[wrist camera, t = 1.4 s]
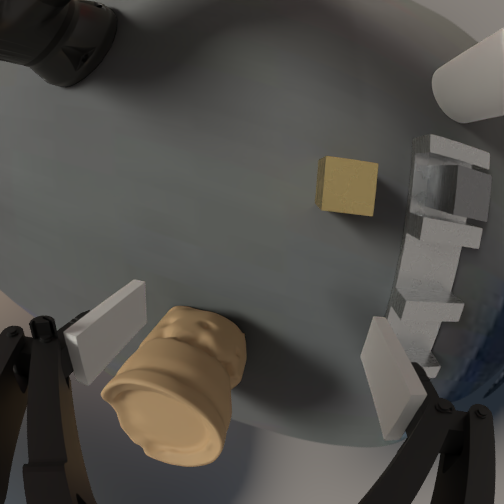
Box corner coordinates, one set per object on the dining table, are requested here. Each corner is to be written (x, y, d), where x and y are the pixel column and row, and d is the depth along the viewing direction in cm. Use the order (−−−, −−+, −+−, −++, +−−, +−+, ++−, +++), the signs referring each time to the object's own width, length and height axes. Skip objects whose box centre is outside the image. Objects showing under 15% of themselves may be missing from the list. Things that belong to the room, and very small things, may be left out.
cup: (436, 119, 27) (516, 95, 12) (426, 61, 25) (490, 13, 10) (482, 127, 26) (562, 116, 11) (472, 72, 24) (542, 41, 9)
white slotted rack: (412, 138, 28) (443, 130, 21) (468, 154, 28) (504, 152, 20) (372, 358, 37) (385, 394, 29) (424, 358, 36) (443, 390, 28)
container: (189, 377, 42) (146, 464, 24) (150, 310, 39) (78, 385, 22) (263, 361, 39) (245, 464, 22) (227, 284, 36) (176, 372, 19)
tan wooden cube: (318, 159, 31) (326, 155, 24) (360, 165, 30) (378, 163, 24) (314, 202, 32) (321, 210, 26) (356, 207, 32) (372, 216, 25)
